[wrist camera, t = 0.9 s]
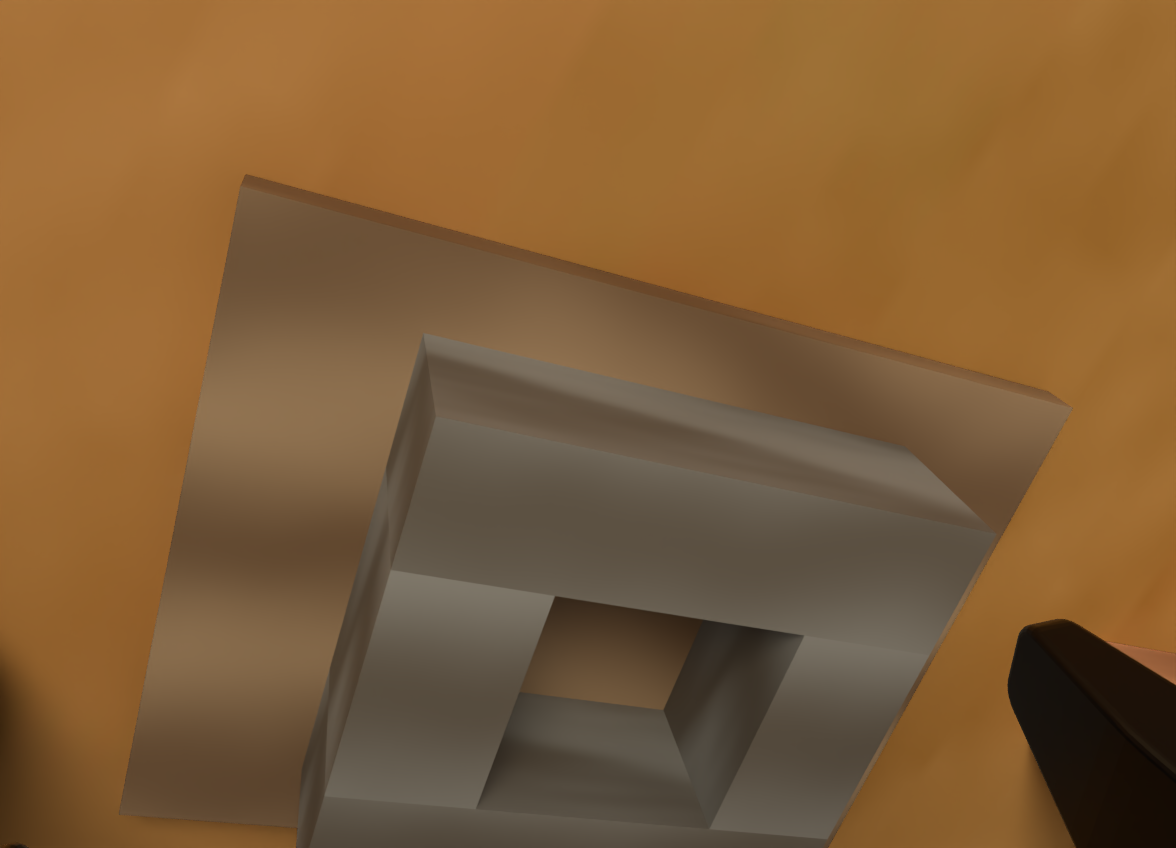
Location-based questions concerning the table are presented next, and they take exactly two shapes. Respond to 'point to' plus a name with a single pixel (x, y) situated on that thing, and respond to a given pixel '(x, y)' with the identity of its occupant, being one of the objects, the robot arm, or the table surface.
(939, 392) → the socket board
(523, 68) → the table surface
